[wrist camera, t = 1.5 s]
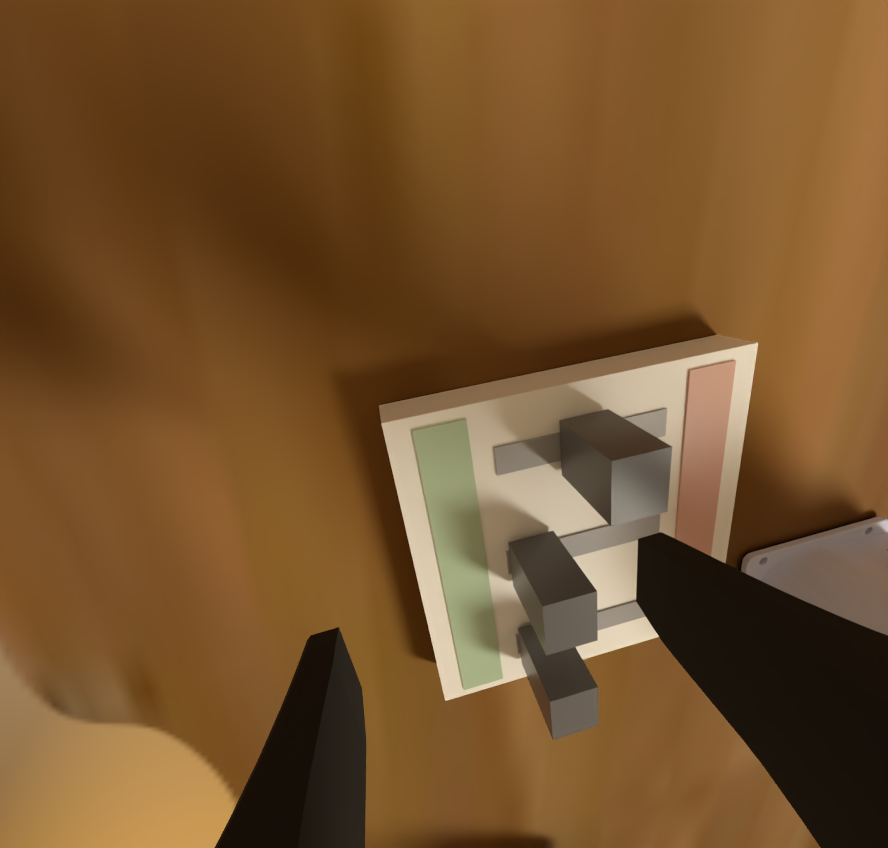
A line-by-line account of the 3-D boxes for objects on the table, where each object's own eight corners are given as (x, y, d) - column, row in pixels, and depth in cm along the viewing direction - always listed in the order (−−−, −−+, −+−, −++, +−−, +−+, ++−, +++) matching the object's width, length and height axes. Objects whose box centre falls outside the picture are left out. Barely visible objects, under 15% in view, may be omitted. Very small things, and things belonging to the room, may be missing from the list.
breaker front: (608, 409, 16) (672, 446, 12) (607, 463, 17) (667, 511, 13) (559, 420, 15) (611, 461, 12) (561, 475, 16) (610, 526, 13)
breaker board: (717, 334, 18) (760, 343, 16) (689, 591, 24) (718, 620, 22) (378, 405, 16) (381, 424, 14) (438, 664, 22) (445, 702, 20)
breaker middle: (553, 530, 17) (597, 591, 14) (555, 574, 18) (597, 640, 15) (508, 542, 17) (542, 606, 14) (513, 585, 18) (546, 655, 15)
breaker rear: (558, 616, 19) (597, 687, 16) (560, 652, 20) (598, 725, 17) (517, 628, 19) (549, 702, 16) (521, 663, 20) (553, 739, 17)
